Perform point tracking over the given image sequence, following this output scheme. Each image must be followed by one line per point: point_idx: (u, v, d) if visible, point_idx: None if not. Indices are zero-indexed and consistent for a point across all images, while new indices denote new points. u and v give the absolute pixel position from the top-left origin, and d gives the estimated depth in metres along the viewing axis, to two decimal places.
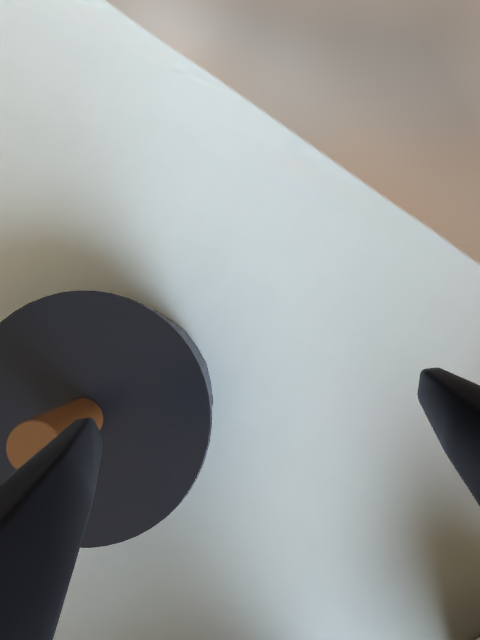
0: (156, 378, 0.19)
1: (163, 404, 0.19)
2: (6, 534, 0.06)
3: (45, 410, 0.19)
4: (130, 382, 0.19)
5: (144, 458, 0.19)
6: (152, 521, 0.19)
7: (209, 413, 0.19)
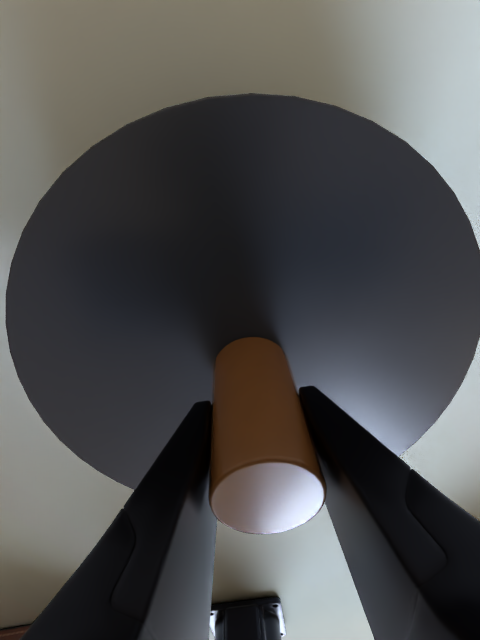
0: (399, 356, 0.11)
1: (382, 392, 0.11)
2: (185, 510, 0.06)
3: (192, 333, 0.10)
4: (357, 346, 0.10)
5: None
6: None
7: (432, 424, 0.12)
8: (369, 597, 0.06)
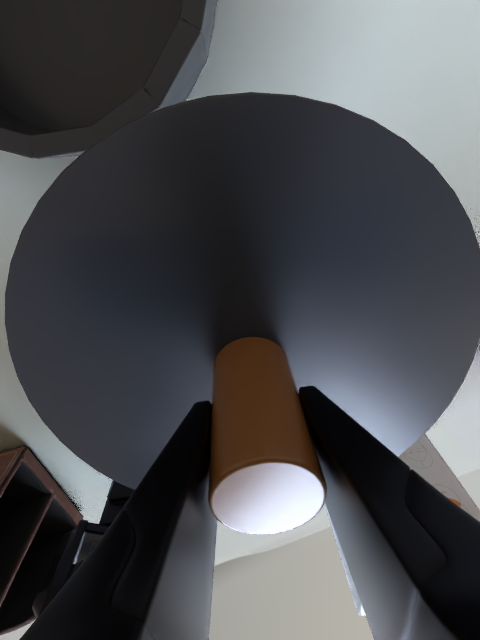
0: (400, 355, 0.11)
1: (382, 392, 0.11)
2: (185, 510, 0.06)
3: (192, 333, 0.10)
4: (357, 345, 0.10)
5: None
6: None
7: None
8: (369, 597, 0.06)
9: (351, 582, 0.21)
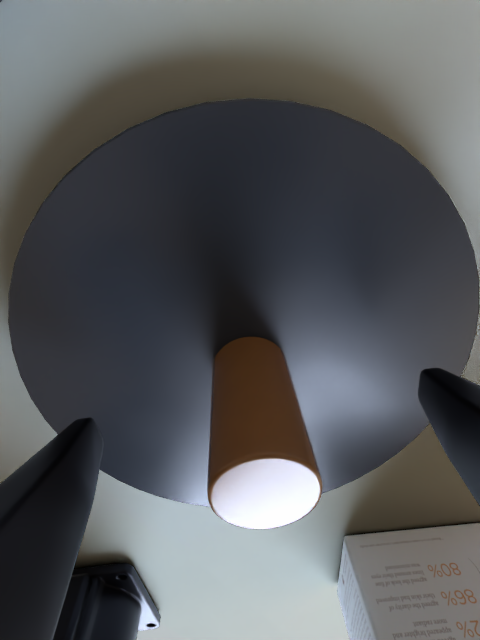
0: (396, 355, 0.11)
1: (379, 391, 0.12)
2: (6, 534, 0.06)
3: (192, 332, 0.10)
4: (353, 345, 0.11)
5: None
6: None
7: None
8: None
9: None
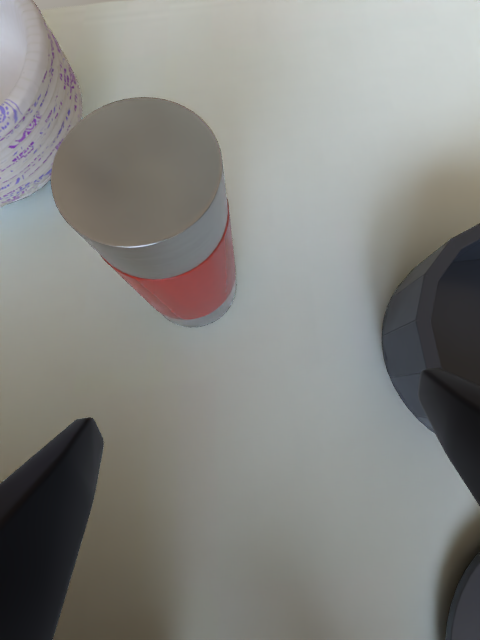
0: None
1: None
2: (6, 534, 0.06)
3: None
4: None
5: None
6: None
7: None
8: None
9: None
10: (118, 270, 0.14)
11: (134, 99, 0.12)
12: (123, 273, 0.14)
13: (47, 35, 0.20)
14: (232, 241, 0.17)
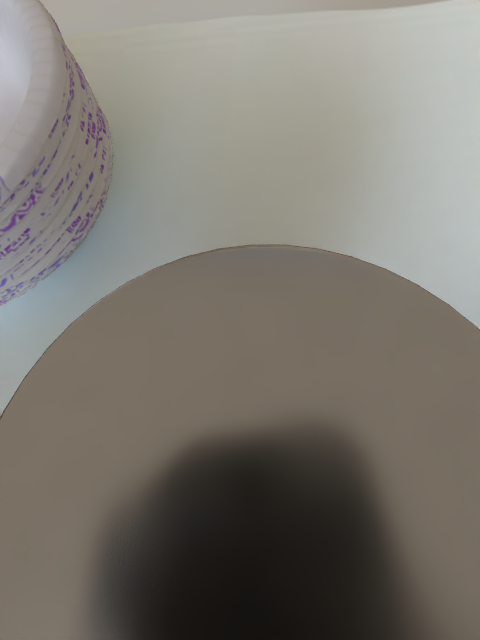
0: None
1: None
2: None
3: None
4: None
5: None
6: None
7: None
8: None
9: None
10: None
11: (250, 246, 0.04)
12: None
13: (64, 64, 0.12)
14: None
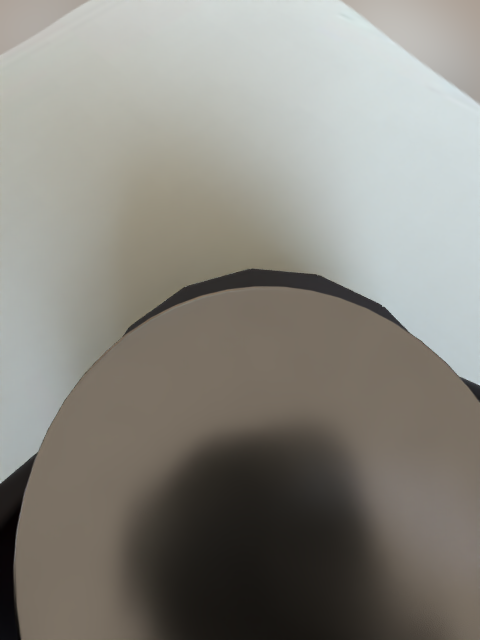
0: None
1: None
2: (6, 534, 0.06)
3: None
4: None
5: None
6: None
7: None
8: None
9: None
10: None
11: (254, 287, 0.05)
12: None
13: None
14: None
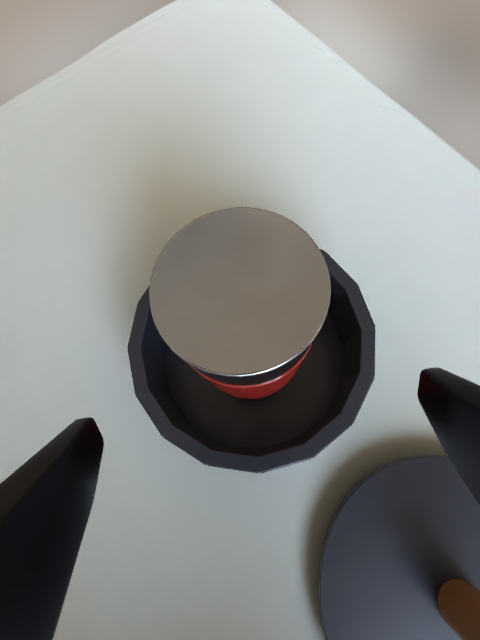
0: None
1: None
2: (6, 534, 0.06)
3: (419, 579, 0.18)
4: None
5: None
6: None
7: None
8: None
9: None
10: (200, 373, 0.13)
11: (236, 208, 0.12)
12: (206, 376, 0.13)
13: None
14: None
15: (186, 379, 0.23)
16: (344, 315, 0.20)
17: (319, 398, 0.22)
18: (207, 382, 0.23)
